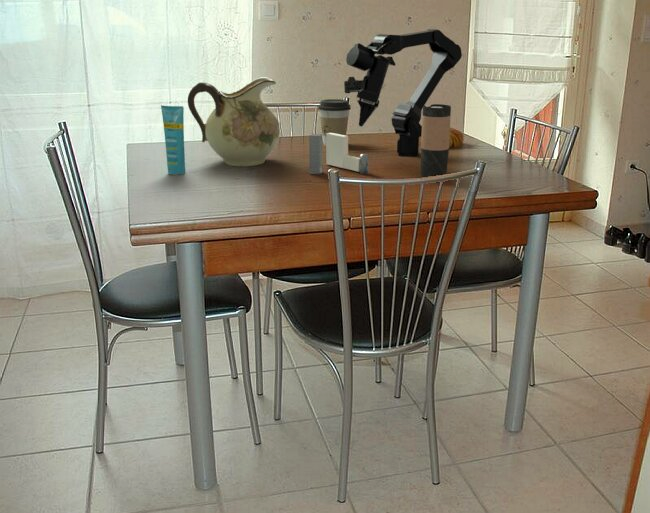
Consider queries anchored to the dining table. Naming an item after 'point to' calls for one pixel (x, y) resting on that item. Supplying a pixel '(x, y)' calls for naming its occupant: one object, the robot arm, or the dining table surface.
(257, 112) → the pitcher
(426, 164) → the travel mug
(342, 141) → the gate
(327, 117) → the coffee cup
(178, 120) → the tube
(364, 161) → the hinge post
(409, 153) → the robot arm
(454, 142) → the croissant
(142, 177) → the dining table surface
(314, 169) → the post
